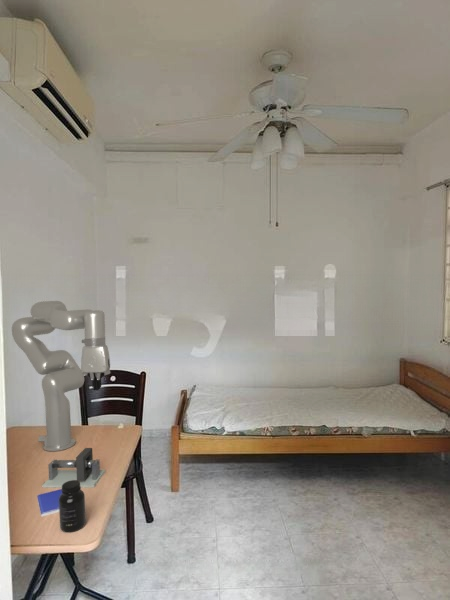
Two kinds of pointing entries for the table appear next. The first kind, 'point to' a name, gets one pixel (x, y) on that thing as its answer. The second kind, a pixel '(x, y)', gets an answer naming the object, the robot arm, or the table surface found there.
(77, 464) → the collar
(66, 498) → the supplement bottle
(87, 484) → the board
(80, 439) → the table surface
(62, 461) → the rail
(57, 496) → the hard drive
